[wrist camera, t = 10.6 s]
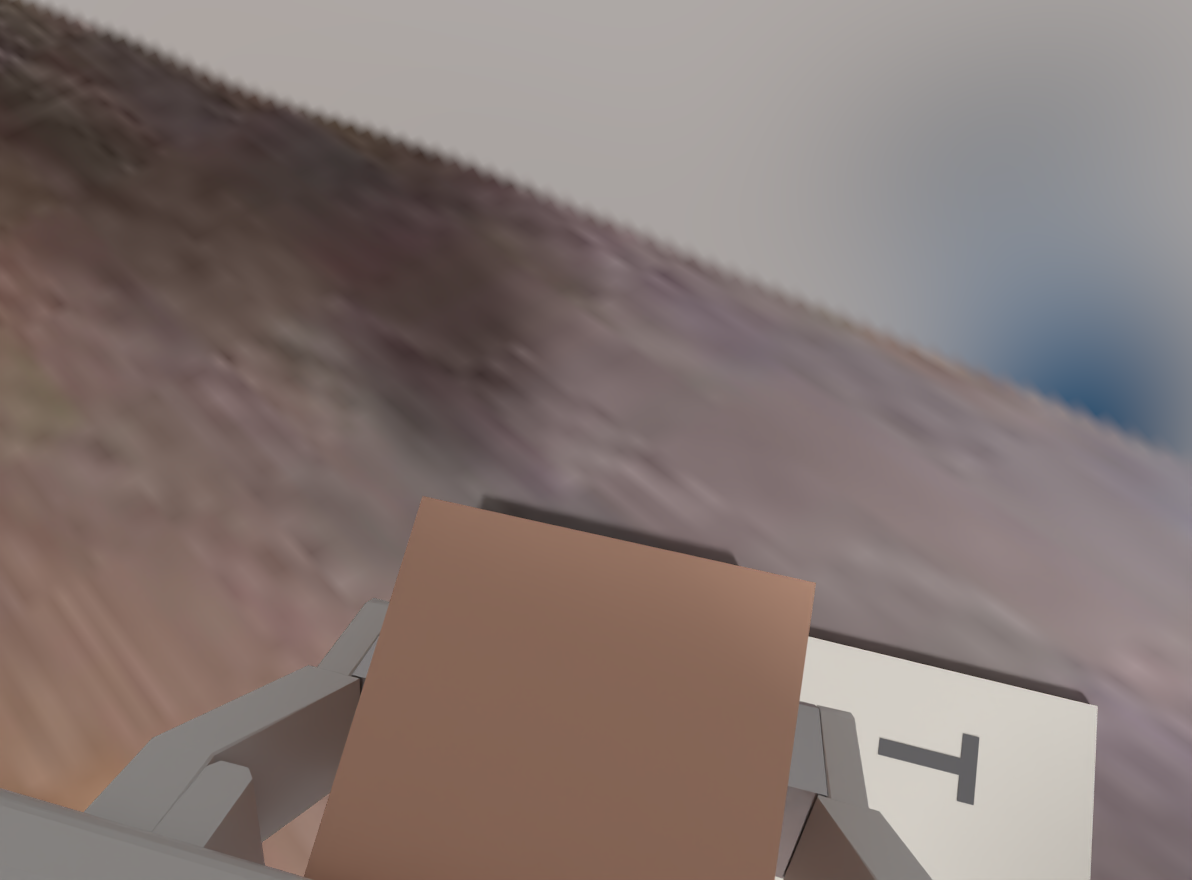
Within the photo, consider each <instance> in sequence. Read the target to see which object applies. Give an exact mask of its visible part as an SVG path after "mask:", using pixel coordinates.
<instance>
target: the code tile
mask: <svg viewBox="0 0 1192 880" xmlns="http://www.w3.org/2000/svg"><path fill="white" fill-rule="evenodd" d="M800 701H802V702H806V703H810V704H814V705H816V706H817V705H820V706H824V707H829V708H833V709H838V710H842V711H846V712H851V714H852V715H853V717H854V718H855V724H856V730H857V736H858V743H859V749H860V755H861V761H862V768H863V774H864V780H865V787H866V793H867V799H868V806H869V808H870V809H874V810H877V811H880V812H881V814H882V815H883V816H884V818H885V819H886V820H887V822H888V823H889V824H890V825H891V827H892V828H893V829H894V831H895V832H896V833H897V834H898V836H899V837H900V838H901V840H902V841H903V842H904V843H905V845H906V846H907V847H908V849H909V850H910V851H911V852H912V854H913V855H914V856H915V858H916V859H917V860H918V861H919V863H920V864H921V865H922V867H923V868H924V869H925V871H926V872H927V873H928V874H929V876H930V877H931V878H932V880H1090V873H1091V850H1092V826H1093V802H1094V779H1095V755H1096V731H1097V708H1098V706H1094V705H1090V704H1086V703H1082V702H1077V701H1073V700H1069V699H1065V698H1061V697H1057V696H1053V695H1049V694H1044V693H1040V692H1036V691H1032V690H1028V689H1024V688H1020V687H1015V686H1011V685H1007V684H1003V683H999V682H995V681H991V680H986V679H982V678H978V677H974V676H970V675H966V674H962V673H957V672H953V671H949V670H945V669H941V668H937V667H933V666H929V665H924V664H920V663H916V662H912V661H908V660H904V659H900V658H895V657H891V656H887V655H883V654H879V653H875V652H871V651H866V650H862V649H858V648H854V647H850V646H846V645H842V644H838V643H833V642H829V641H825V640H821V639H817V638H813V637H809V636H808V643H807V650H806V657H805V665H804V672H803V679H802V686H801V693H800ZM775 880H783V878H779V877H776V876H775Z"/></svg>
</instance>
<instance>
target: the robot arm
mask: <svg viewBox="0 0 1192 880" xmlns="http://www.w3.org/2000/svg"><path fill="white" fill-rule="evenodd" d="M388 606H389V602H387V601H384V600H380V599H377V598H373V599H371V600H370V601H368V602H367V603H365V604H364V606H363V607H362V608H361V610H360V611H359V612H358V614H357V615H356V616H355V618H354V619H353V620H352V622H351V623H350V624H349V626H348V627H347V628H346V630H345V631H344V632H343V633H342V635H341V636H340V637H339V639H338V640H337V641H336V643H335V644H334V645H333V647H332V648H331V649H330V651H329V652H328V653H327V655H326V656H325V657H324V659H323V660H322V661H321V663H320V664H319V665H318V666H317V667H313V666H309V665H308V666H306V667H303V668H301V669H299V670H297V671H295V672H293V673H291V674H288V675H286V676H284V677H282V678H280V679H278V680H276V681H273V682H271V683H269V684H267V685H265V686H263V687H261V688H258V689H256V690H254V691H252V692H250V693H248V694H246V695H244V696H241V697H239V698H237V699H235V700H233V701H231V702H229V703H226V704H224V705H222V706H220V707H218V708H216V709H214V710H211V711H209V712H207V713H205V714H203V715H201V716H199V717H196V718H194V719H192V720H190V721H188V722H186V723H184V724H181V725H179V726H177V727H175V728H173V729H171V730H169V731H166V732H164V733H162V734H160V735H158V736H156V737H154V738H152V739H151V740H150V741H149V742H148V743H147V744H146V746H145V747H144V748H143V749H142V750H141V751H140V752H139V753H138V754H137V755H136V756H135V757H134V758H133V760H132V761H131V762H130V763H129V764H128V765H127V766H126V767H125V768H124V769H123V770H122V771H121V772H120V774H119V775H118V776H117V777H116V778H115V779H114V780H113V781H112V782H111V783H110V784H109V785H108V786H107V788H106V789H105V790H104V791H103V792H102V793H101V794H100V795H99V796H98V797H97V798H96V799H95V800H94V802H93V803H92V804H91V805H90V806H89V807H88V808H87V809H86V810H85V811H84V812H80V811H77V810H73V809H70V808H67V807H63V806H60V805H56V804H53V803H50V802H46V801H43V800H39V799H36V798H32V797H29V796H26V795H22V794H19V793H15V792H12V791H9V790H5V789H2V788H0V880H312V879H309V878H306V877H302V876H299V875H295V874H292V873H289V872H285V871H282V870H278V869H275V868H272V867H268V866H265V863H264V856H263V849H262V842H263V841H264V840H266V839H267V838H269V837H270V836H271V835H273V834H274V833H275V832H277V831H278V830H280V829H281V828H282V827H284V826H285V825H286V824H288V823H289V822H291V821H292V820H293V819H295V818H296V817H297V816H299V815H300V814H301V813H303V812H304V811H306V810H307V809H308V808H310V807H311V806H312V805H314V804H315V803H317V802H318V801H319V800H321V799H322V798H323V797H325V796H326V795H328V794H329V793H330V791H331V788H332V785H333V782H334V779H335V775H336V772H337V769H338V766H339V763H340V759H341V756H342V753H343V750H344V747H345V743H346V740H347V737H348V734H349V731H350V727H351V724H352V721H353V718H354V715H355V711H356V708H357V705H358V702H359V699H360V695H361V692H362V689H363V686H364V682H365V679H366V676H367V673H368V670H369V666H370V663H371V660H372V657H373V654H374V650H375V647H376V644H377V641H378V638H379V634H380V631H381V628H382V625H383V622H384V618H385V615H386V612H387V609H388ZM775 876H776V877H779V878H783V880H932V878H931V877H930V876H929V874H928V873H927V872H926V871H925V869H924V868H923V867H922V865H921V864H920V863H919V861H918V860H917V859H916V858H915V856H914V855H913V854H912V852H911V851H910V850H909V849H908V847H907V846H906V845H905V843H904V842H903V841H902V840H901V838H900V837H899V836H898V834H897V833H896V832H895V831H894V829H893V828H892V827H891V825H890V824H889V823H888V822H887V820H886V819H885V818H884V816H883V815H882V814H881V812H880V811H877V810H874V809H870V808H869V806H868V799H867V793H866V787H865V780H864V774H863V768H862V761H861V755H860V749H859V743H858V736H857V730H856V724H855V718H854V717H853V715H852V714H851V712H846V711H842V710H838V709H833V708H829V707H824V706H820V705H817V706H816V705H814V704H810V703H806V702H802V701H799V708H798V715H797V722H796V729H795V737H794V744H793V751H792V758H791V765H790V773H789V780H788V787H787V794H786V801H785V809H784V816H783V823H782V830H781V837H780V845H779V852H778V859H777V866H776V874H775Z"/></svg>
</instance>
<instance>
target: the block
mask: <svg viewBox="0 0 1192 880" xmlns="http://www.w3.org/2000/svg"><path fill="white" fill-rule="evenodd" d="M815 585H816V583H814V582H809V581H805V580H800V579H796V578H791V577H787V576H782V575H777V574H773V573H768V572H764V571H759V570H755V569H750V568H746V567H741V566H737V565H732V564H728V563H723V562H719V561H714V560H709V559H705V558H700V557H696V556H691V555H687V554H682V553H678V552H673V551H669V550H664V549H660V548H655V547H651V546H646V545H642V544H637V543H632V542H628V541H623V540H619V539H614V538H610V537H605V536H601V535H596V534H592V533H587V532H583V531H578V530H574V529H569V528H565V527H560V526H555V525H551V524H546V523H542V522H537V521H533V520H528V519H524V518H519V517H515V516H510V515H506V514H501V513H497V512H492V511H488V510H483V509H478V508H474V507H469V506H465V505H460V504H456V503H451V502H447V501H442V500H438V499H433V498H429V497H424V496H423V497H422V500H421V503H420V506H419V510H418V513H417V516H416V519H415V522H414V526H413V529H412V532H411V535H410V538H409V542H408V545H407V548H406V551H405V554H404V558H403V561H402V564H401V567H400V570H399V574H398V577H397V580H396V583H395V586H394V590H393V593H392V596H391V599H390V602H389V606H388V609H387V612H386V615H385V618H384V622H383V625H382V628H381V631H380V634H379V638H378V641H377V644H376V647H375V650H374V654H373V657H372V660H371V663H370V666H369V670H368V673H367V676H366V679H365V682H364V686H363V689H362V692H361V695H360V699H359V702H358V705H357V708H356V711H355V715H354V718H353V721H352V724H351V727H350V731H349V734H348V737H347V740H346V743H345V747H344V750H343V753H342V756H341V759H340V763H339V766H338V769H337V772H336V775H335V779H334V782H333V785H332V788H331V791H330V795H329V798H328V801H327V804H326V807H325V811H324V814H323V817H322V820H321V823H320V827H319V830H318V833H317V836H316V839H315V843H314V846H313V849H312V852H311V855H310V859H309V862H308V865H307V868H306V871H305V875H304V877H306V878H309V879H312V880H775V874H776V866H777V859H778V852H779V845H780V837H781V830H782V823H783V816H784V809H785V801H786V794H787V787H788V780H789V773H790V765H791V758H792V751H793V744H794V737H795V729H796V722H797V715H798V708H799V701H800V693H801V686H802V679H803V672H804V665H805V657H806V650H807V643H808V636H809V629H810V621H811V614H812V607H813V600H814V593H815Z"/></svg>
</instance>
